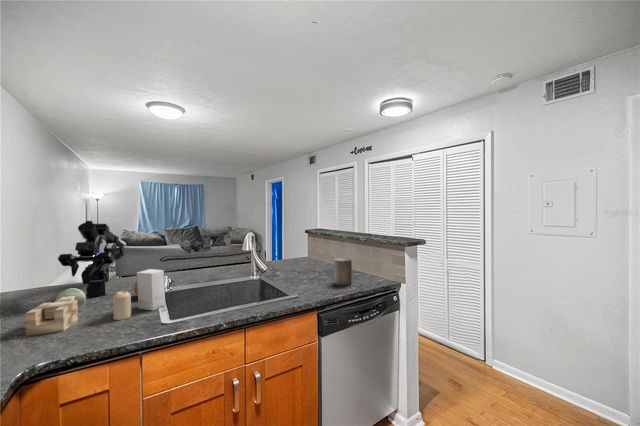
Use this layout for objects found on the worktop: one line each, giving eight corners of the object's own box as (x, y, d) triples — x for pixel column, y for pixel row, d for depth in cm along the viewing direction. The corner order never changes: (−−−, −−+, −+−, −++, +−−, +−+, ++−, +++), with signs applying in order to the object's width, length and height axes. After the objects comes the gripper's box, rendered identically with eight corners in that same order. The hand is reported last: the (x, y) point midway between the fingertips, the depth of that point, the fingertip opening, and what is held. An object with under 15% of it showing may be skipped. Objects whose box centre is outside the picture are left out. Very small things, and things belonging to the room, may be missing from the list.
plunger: (58, 311, 109) (57, 289, 109) (86, 309, 112) (85, 287, 112) (35, 327, 96) (34, 301, 96) (68, 323, 99) (67, 298, 99)
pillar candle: (355, 283, 154) (355, 256, 154) (343, 287, 147) (343, 258, 147) (342, 280, 161) (342, 254, 161) (330, 283, 154) (330, 256, 154)
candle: (112, 321, 103) (111, 294, 103) (115, 316, 108) (114, 290, 108) (130, 318, 106) (129, 292, 106) (132, 313, 111) (131, 288, 111)
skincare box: (165, 305, 119) (165, 269, 119) (151, 311, 113) (151, 273, 112) (151, 303, 122) (150, 268, 121) (136, 308, 116) (136, 271, 115)
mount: (44, 323, 102) (43, 302, 101) (78, 319, 105) (77, 299, 105) (26, 335, 92) (25, 313, 92) (63, 331, 95) (63, 309, 95)
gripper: (59, 235, 119) (44, 266, 109) (111, 234, 125) (101, 263, 115) (69, 250, 127) (56, 281, 117) (117, 248, 133) (109, 277, 123)
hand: (81, 275), depth 118 cm, fingers open, 5 cm apart
